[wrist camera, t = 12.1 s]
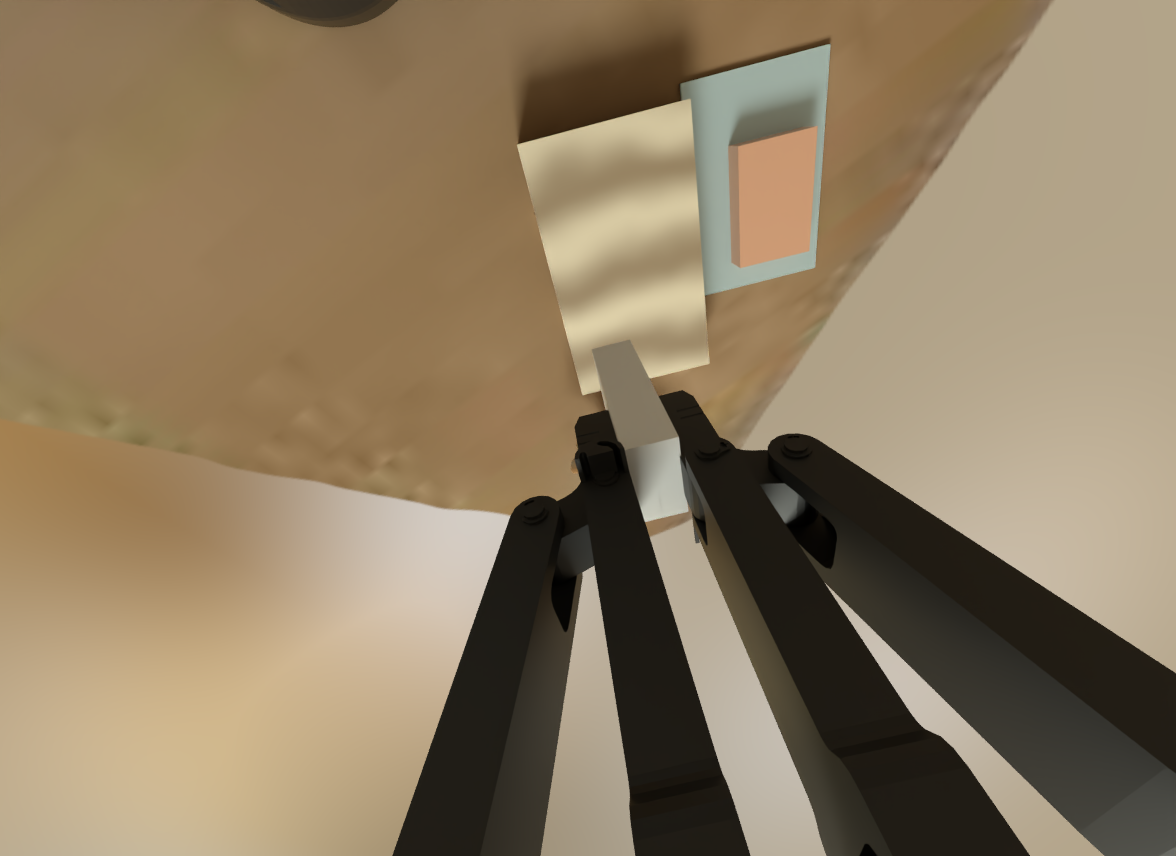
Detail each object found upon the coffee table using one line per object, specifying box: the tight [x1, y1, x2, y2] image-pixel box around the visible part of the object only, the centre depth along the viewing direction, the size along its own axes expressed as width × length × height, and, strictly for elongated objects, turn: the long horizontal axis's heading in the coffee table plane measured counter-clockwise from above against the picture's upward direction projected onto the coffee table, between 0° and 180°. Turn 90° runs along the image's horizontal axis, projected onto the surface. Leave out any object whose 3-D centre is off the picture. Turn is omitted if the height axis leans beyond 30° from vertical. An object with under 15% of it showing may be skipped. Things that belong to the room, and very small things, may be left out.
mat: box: [680, 44, 830, 295], centre depth 37 cm, size 16×11×1 cm
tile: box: [728, 126, 818, 268], centre depth 36 cm, size 9×6×2 cm, turn 12°
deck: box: [517, 99, 709, 395], centre depth 37 cm, size 20×12×4 cm, turn 12°
